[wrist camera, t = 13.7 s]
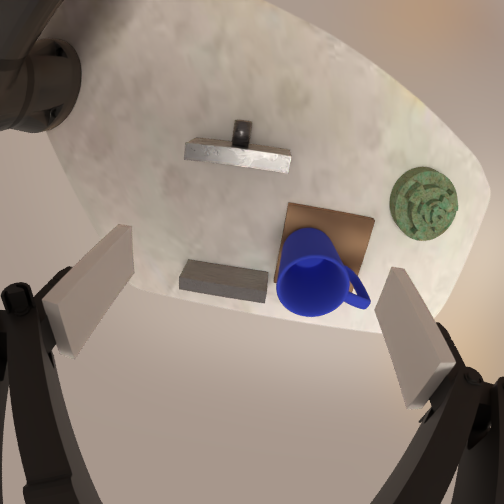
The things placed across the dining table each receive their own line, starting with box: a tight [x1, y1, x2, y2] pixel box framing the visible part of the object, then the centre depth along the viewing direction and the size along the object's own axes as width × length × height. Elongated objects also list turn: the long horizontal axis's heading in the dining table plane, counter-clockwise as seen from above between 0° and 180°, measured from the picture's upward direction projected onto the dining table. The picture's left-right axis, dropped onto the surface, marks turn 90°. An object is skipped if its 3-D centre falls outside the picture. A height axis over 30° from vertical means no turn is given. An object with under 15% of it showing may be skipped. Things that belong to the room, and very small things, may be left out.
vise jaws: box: [179, 120, 291, 303], centre depth 40 cm, size 23×12×5 cm, turn 172°
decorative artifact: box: [390, 167, 458, 241], centre depth 36 cm, size 10×7×10 cm
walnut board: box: [274, 203, 375, 293], centre depth 43 cm, size 12×12×1 cm
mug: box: [276, 228, 371, 317], centre depth 38 cm, size 8×12×10 cm
